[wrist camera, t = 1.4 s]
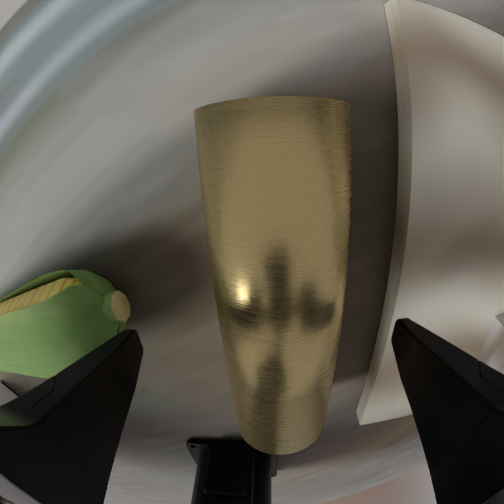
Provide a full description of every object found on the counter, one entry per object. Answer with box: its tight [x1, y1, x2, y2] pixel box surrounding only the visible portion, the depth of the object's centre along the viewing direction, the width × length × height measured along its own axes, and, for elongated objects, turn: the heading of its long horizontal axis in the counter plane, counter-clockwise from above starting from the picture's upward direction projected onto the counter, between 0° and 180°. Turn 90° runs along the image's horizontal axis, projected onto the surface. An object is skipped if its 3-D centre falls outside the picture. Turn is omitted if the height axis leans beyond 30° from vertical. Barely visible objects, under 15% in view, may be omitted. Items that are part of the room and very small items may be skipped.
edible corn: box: [0, 270, 130, 378], centre depth 12 cm, size 5×20×5 cm
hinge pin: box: [194, 96, 352, 455], centre depth 10 cm, size 14×4×4 cm, turn 4°
